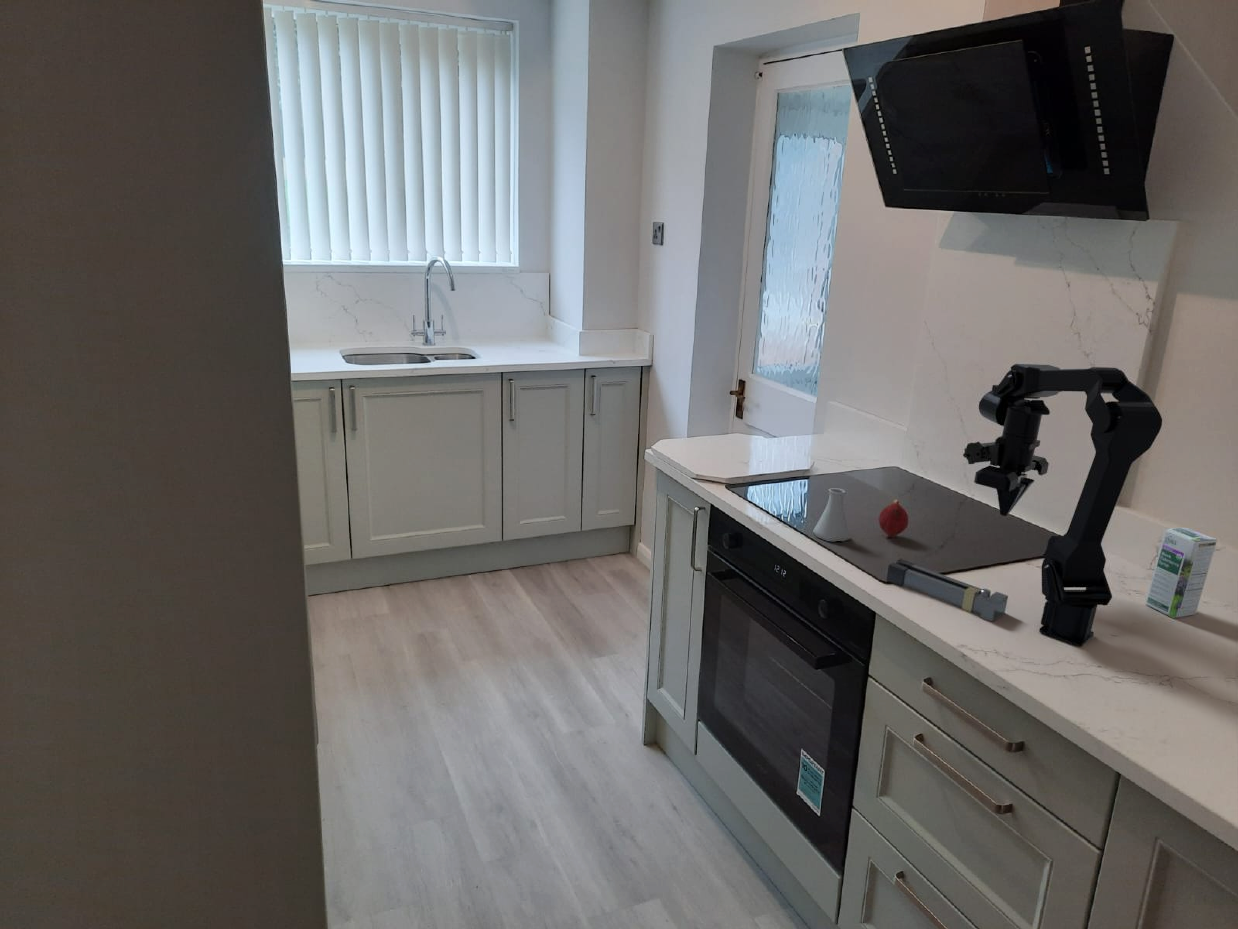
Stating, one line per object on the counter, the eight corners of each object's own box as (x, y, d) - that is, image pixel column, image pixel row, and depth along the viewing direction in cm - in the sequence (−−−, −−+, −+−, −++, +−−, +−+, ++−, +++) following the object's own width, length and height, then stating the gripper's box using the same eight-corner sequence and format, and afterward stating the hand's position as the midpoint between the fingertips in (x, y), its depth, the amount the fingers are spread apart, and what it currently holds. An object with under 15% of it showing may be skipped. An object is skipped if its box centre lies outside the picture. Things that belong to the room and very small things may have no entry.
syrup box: (1143, 604, 151) (1163, 528, 147) (1167, 600, 153) (1187, 525, 149) (1173, 619, 146) (1194, 541, 142) (1197, 615, 148) (1219, 538, 144)
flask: (856, 541, 173) (863, 495, 170) (826, 544, 170) (832, 497, 168) (835, 528, 179) (841, 483, 177) (806, 531, 177) (812, 486, 174)
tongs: (1004, 612, 145) (1008, 593, 144) (992, 622, 141) (996, 602, 140) (898, 574, 158) (901, 556, 157) (884, 581, 155) (887, 563, 154)
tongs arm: (989, 607, 146) (993, 590, 145) (984, 610, 145) (988, 593, 144) (898, 573, 158) (901, 557, 157) (893, 576, 157) (895, 560, 156)
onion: (906, 543, 173) (912, 506, 171) (877, 540, 174) (883, 503, 172) (903, 533, 179) (909, 497, 176) (875, 530, 180) (880, 494, 177)
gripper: (996, 417, 164) (982, 493, 168) (953, 431, 151) (939, 513, 156) (1057, 429, 156) (1040, 509, 161) (1016, 446, 144) (999, 531, 148)
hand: (1003, 515), depth 157 cm, fingers closed
